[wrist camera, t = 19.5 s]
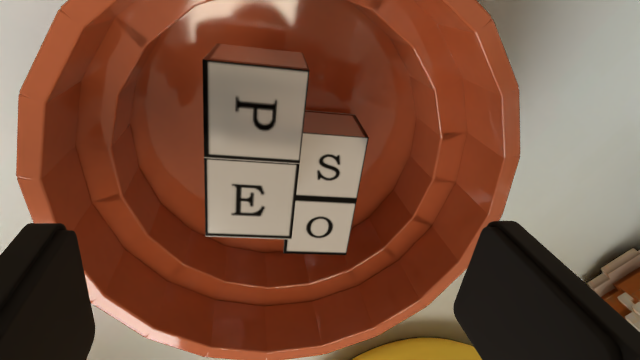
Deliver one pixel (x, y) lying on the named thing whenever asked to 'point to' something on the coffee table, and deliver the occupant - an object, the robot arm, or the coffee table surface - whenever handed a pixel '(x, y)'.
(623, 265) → the decorative ornament
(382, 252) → the bowl
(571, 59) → the coffee table surface
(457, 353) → the teapot
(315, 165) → the building blocks
